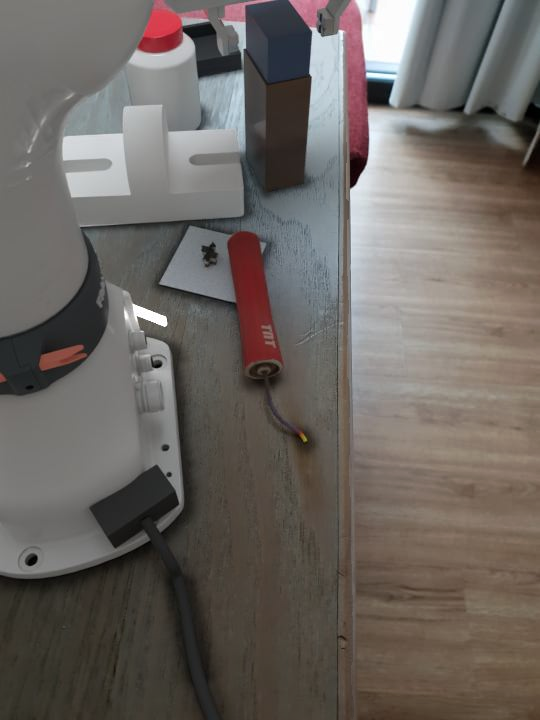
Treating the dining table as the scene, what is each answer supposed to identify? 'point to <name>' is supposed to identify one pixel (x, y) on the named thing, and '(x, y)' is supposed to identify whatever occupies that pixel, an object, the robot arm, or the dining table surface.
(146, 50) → the pill bottle
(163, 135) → the slotted mounting bracket
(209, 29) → the dark rectangular tray
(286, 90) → the dark brown tall block
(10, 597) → the dining table surface
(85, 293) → the robot arm
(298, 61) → the dark blue rectangular block
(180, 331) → the dining table surface
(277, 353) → the dynamite stick
